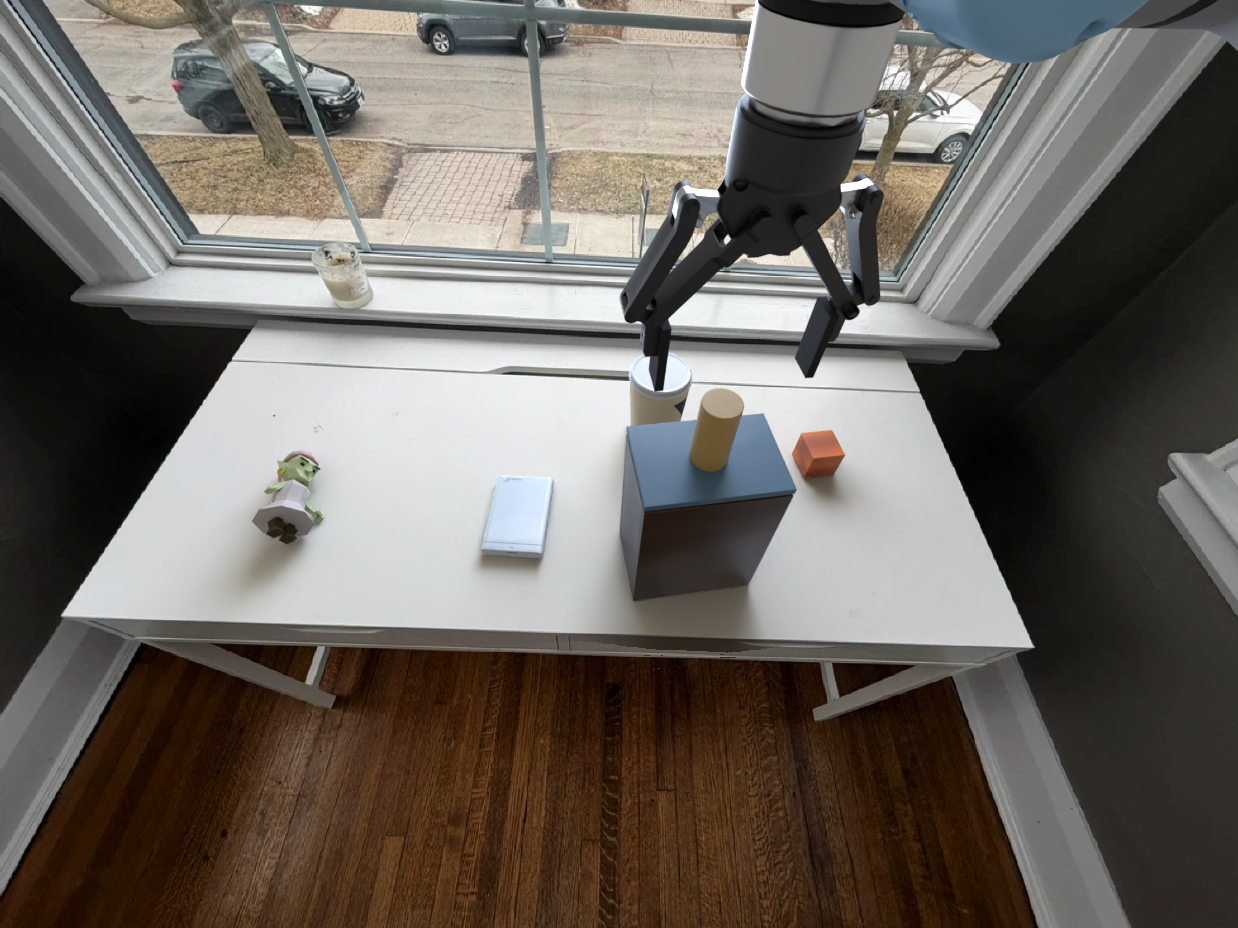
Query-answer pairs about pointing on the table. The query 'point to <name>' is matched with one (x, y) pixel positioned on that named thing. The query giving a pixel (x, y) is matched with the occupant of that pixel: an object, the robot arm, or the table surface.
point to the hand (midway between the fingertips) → (730, 374)
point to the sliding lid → (708, 457)
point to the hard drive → (518, 517)
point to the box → (693, 541)
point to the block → (818, 454)
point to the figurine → (290, 500)
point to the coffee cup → (658, 392)
